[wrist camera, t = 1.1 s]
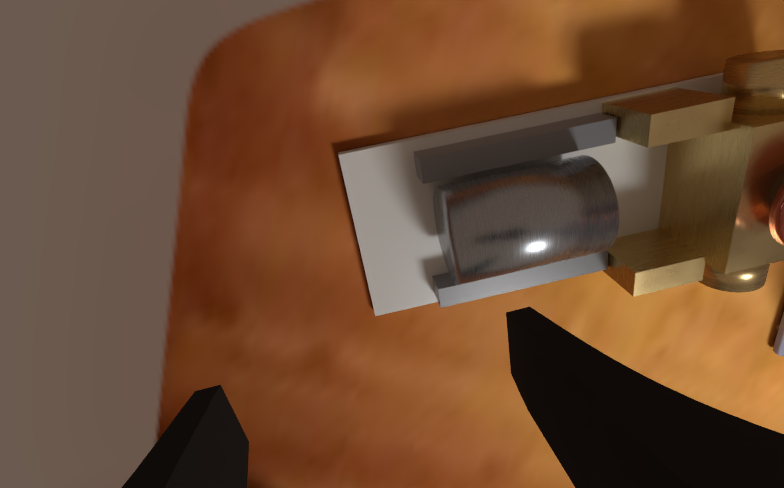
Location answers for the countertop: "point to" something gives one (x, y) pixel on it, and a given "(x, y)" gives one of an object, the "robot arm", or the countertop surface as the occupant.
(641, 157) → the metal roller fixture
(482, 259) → the metal cylinder
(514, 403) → the countertop surface
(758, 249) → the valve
